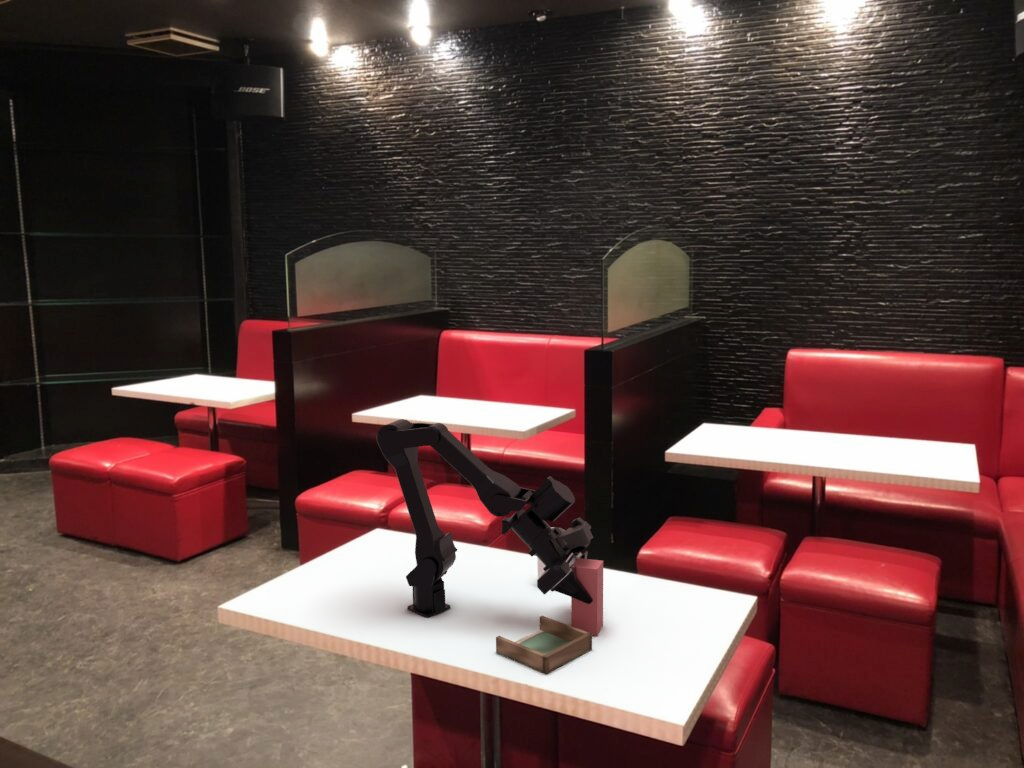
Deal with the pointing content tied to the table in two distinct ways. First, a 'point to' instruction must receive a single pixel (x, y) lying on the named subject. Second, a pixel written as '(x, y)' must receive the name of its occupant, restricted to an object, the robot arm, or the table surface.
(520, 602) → the table surface
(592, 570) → the post
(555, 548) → the robot arm
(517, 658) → the box
